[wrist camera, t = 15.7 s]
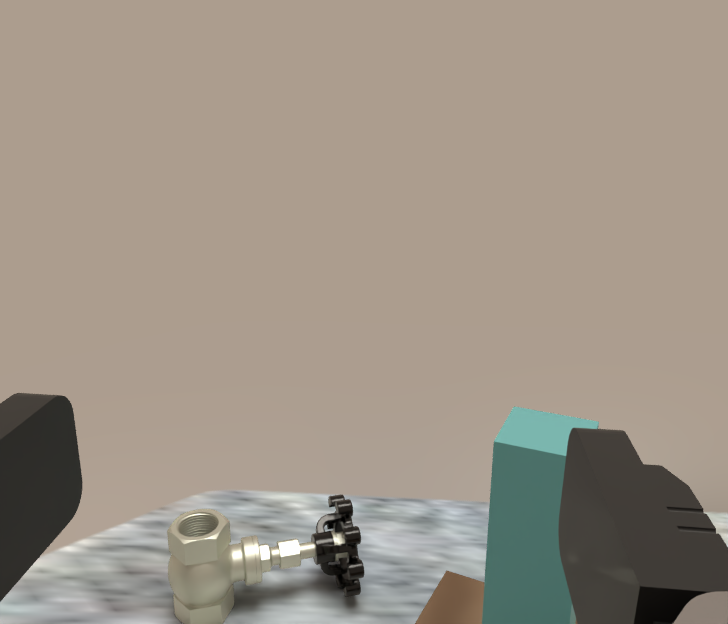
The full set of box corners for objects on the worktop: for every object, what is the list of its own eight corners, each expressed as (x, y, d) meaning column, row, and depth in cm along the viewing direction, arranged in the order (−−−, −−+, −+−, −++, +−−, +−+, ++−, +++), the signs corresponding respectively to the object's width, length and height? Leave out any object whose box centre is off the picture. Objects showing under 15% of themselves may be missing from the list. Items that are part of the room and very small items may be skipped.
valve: (173, 655, 41) (364, 616, 44) (164, 562, 39) (364, 528, 42) (171, 584, 47) (339, 554, 50) (163, 500, 45) (338, 475, 48)
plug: (477, 686, 38) (493, 441, 33) (497, 632, 41) (513, 406, 37) (559, 714, 36) (587, 460, 31) (571, 655, 40) (598, 421, 35)
